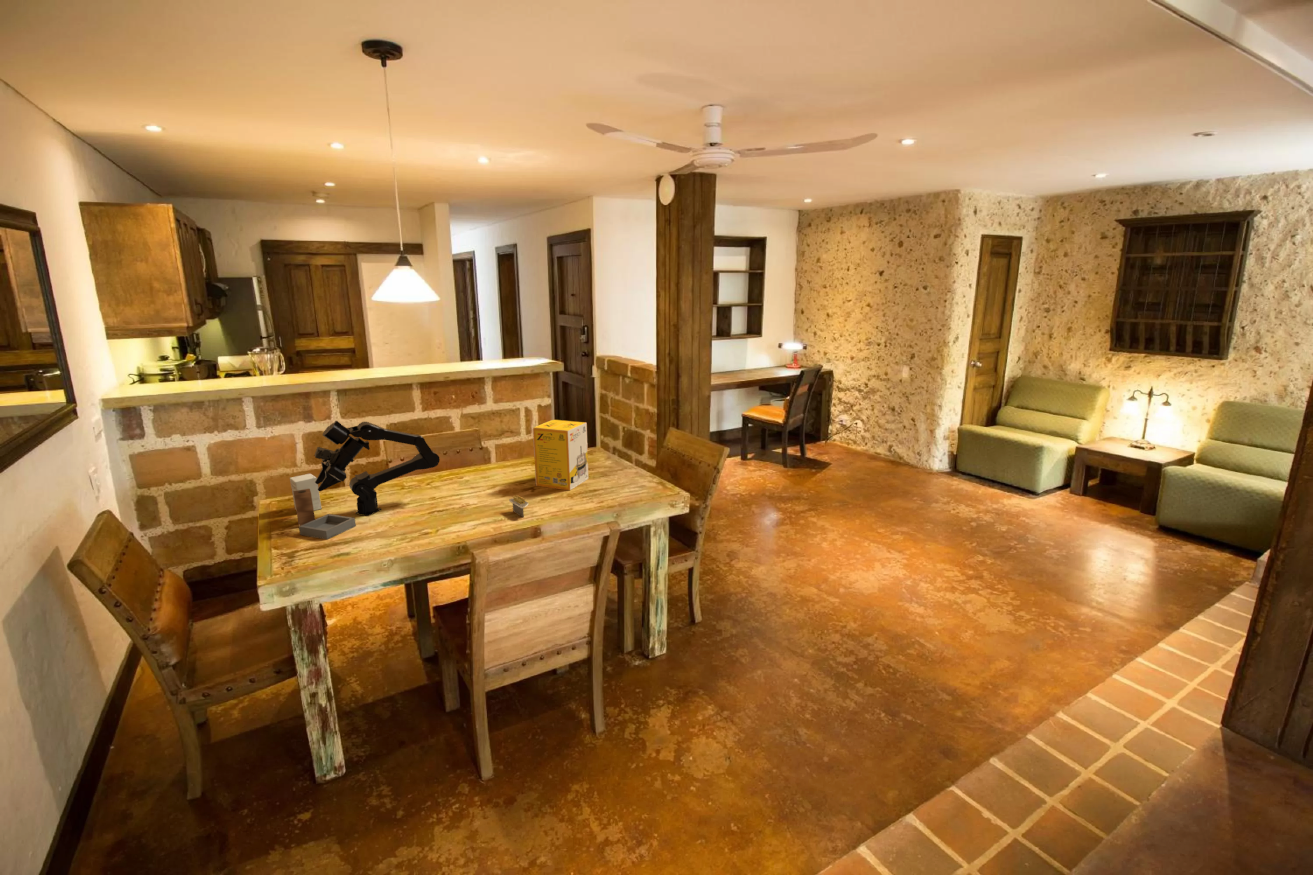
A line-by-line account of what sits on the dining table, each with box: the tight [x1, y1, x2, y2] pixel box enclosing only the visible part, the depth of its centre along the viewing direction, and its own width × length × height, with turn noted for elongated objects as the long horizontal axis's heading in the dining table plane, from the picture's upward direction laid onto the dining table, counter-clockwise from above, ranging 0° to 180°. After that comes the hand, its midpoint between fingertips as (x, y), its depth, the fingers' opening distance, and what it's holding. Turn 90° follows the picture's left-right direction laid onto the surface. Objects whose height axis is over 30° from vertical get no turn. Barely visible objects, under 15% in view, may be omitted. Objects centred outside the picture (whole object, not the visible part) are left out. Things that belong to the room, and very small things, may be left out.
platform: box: [508, 494, 529, 518], centre depth 220 cm, size 12×18×7 cm, turn 40°
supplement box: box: [289, 473, 322, 511], centre depth 225 cm, size 7×7×13 cm
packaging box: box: [532, 419, 590, 491], centre depth 253 cm, size 16×16×25 cm
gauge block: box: [293, 489, 316, 527], centre depth 211 cm, size 5×5×12 cm
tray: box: [298, 513, 357, 540], centre depth 206 cm, size 12×12×3 cm
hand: (317, 486), depth 212 cm, fingers open, 9 cm apart
